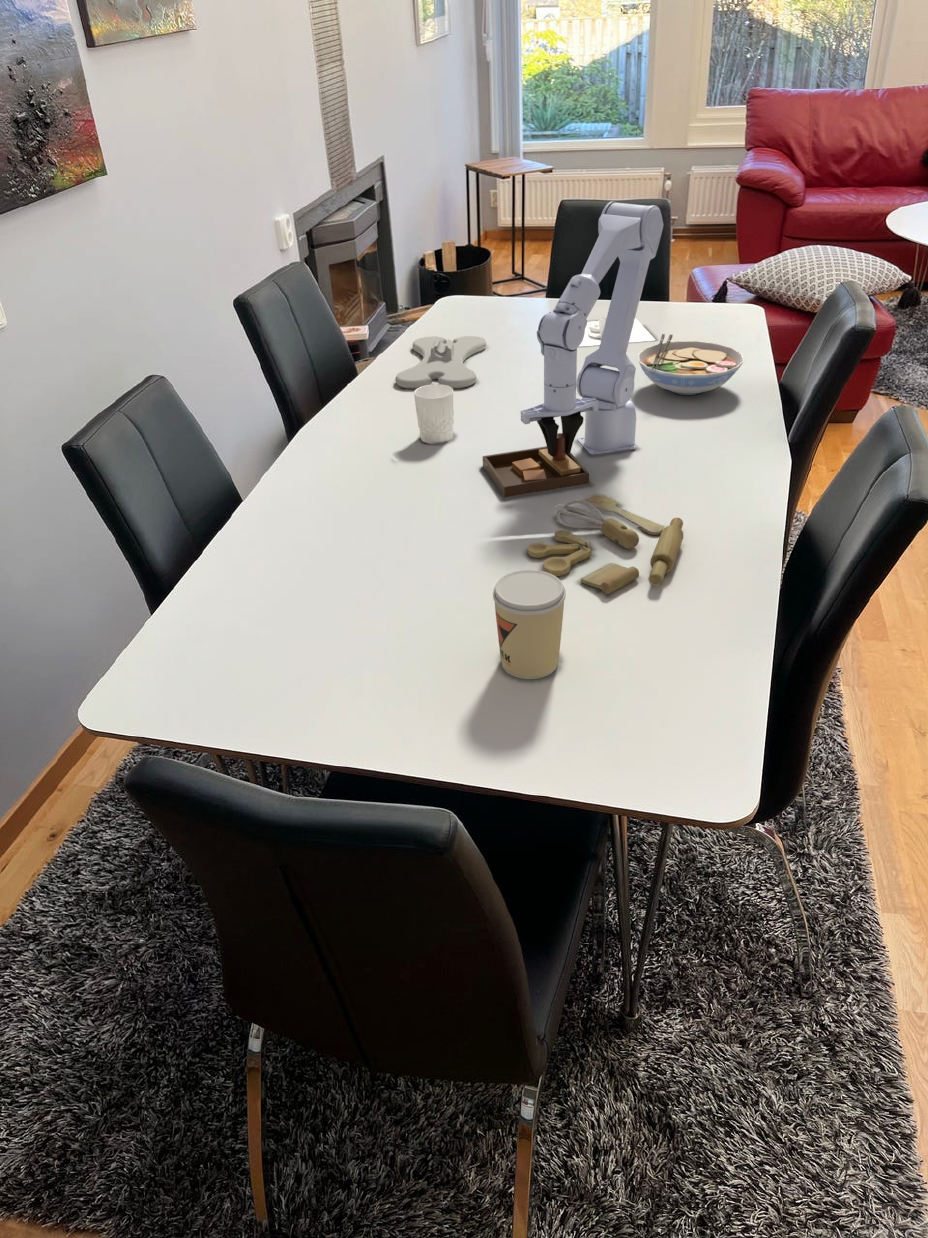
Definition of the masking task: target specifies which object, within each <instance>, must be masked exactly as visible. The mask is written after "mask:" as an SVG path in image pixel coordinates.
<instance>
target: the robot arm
mask: <svg viewBox="0 0 928 1238" xmlns="http://www.w3.org/2000/svg"><path fill="white" fill-rule="evenodd" d="M597 222H598V223H597V226H598V227H597V231H598V237H597V239H596V242H595V243H594V246H593V247H592V250H591V252H590V254H589V256H588V259H587V260H586V263H585V265H584V267H583V269H582V272H581V273H580V274H576V275H573V276H572V277H571V278H570V280H569V281H568V283H567V285H566V287H565V289H564V290H563V292H562V294H561V295H560V297H559V300H558V301H557V303H556V304H555V306H554V308H553V310H551V311H549V312H547V313H545V314H544V315H543V316H542V317H541V318H540V320H539V323H538V327H537V331H536V338H537V341H538V343H539V345H540V353H541V355H542V356H543V403H541V404H537V405H535V406H533V407H529V408H527V409H523V410H520V421H521V423H522V424H524V425H530V424H531V422H536V423H537V425H538V426H539V428H540V430H541V432H542V435H543V438H544V441H545V444H546V446H547V449H548V453H549V454H550V455H551V456H552V457H554V456H556V440H557V433H559V428H560V425H559V424H558V423H556V419H555V418H560V421H561V423H560V424H561V433H563V434H565V435H566V453H567V454H570V452H571V453H572V447H573V445H574V441H575V438H576V436H577V435H578V432H579V430H580V428H581V426H582V425H583V424H584V437H580V438H577V440H576V441H577V442H578V443H579V444H580V445H581V446H582V447H583V448H584V449H585V451H587V452H588V453H589V454H590V455H598V454H599V455H600V454H605V453H606V454H607V453H612V452H617V451H625V450H636V449H637V446H636V430H637V429H636V428H637V410H636V406H635V403H634V401H632V400H631V398H632V396H633V394H634V391H635V378H636V377H635V375H636V370H637V368H636V366H635V365H634V363H633V361H632V360H631V359H630V358H629V356H628V355H627V351H628V347H629V343H630V342H629V340H630V336H631V332H632V328H633V324H634V320H635V318H636V316H637V312H638V308H639V305H640V300H641V297H642V294H643V293H642V292H643V289H644V285H645V282H646V278H647V274H648V269H649V265H650V262H651V260H653V259H654V258H655V257H656V256H657V252H658V249H659V245H660V241H661V238H662V233H663V229H664V219H663V214H662V212H661V209H660V207H659V206H658V205H653V204H652V205H645V204H644V205H643V204H634V203H623V202H617V201H614V200H613V201H608V203H606V205H605V206H604V208H603V210H602V212H601V214H600V216H599V218H598V221H597ZM617 258H618V260H619V265H618V266H619V267H618V271H617V275H616V279H615V283H614V287H613V291H612V295H611V299H610V303H609V306H608V307H609V308H608V310H607V315H606V318H607V319H606V323H605V327H604V331H603V335H602V339H601V343H600V345H599V347H598V349H595V350H594V351H593V352H591V353H589V354H588V355H586V356H585V358H584V362H583V364H582V367H581V369H580V371H579V373H578V375H577V370H578V369H577V366H578V348H579V345H580V344H581V343H582V341H583V338H584V334H585V328H586V326H587V322H588V320H587V318H588V317H589V315H590V314H591V312H592V310H593V309H594V306H595V305H596V303H597V301H598V299H599V297H600V295H601V288H600V283H601V282H602V280H603V279H604V278H605V276H606V274H607V273H608V271H609V270H610V268H611V267H612V266H613V264H614V263H615V261H616V259H617ZM604 366H606V367H611V368H614V369H615V368H616V369H617V370H614V369H611V368H606V367H604ZM577 394H578V395H579V397H581V398H577ZM582 413H584V416H585V417H584V416H583V415H582Z"/></svg>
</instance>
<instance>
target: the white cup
mask: <svg viewBox="0 0 928 1238" xmlns="http://www.w3.org/2000/svg"><path fill="white" fill-rule="evenodd" d="M413 396H414V405H415V412H416V419H417V425H418V429H419V437H420V440H421V442H423V443H426V444H430V445H434V444H440V443H444V442H449V441H452V440H453V438H454V420H455V419H454V413H455V409H454V407H455V406H454V388H451V387H450V386H447V385H441V384H439V383H438V384H437V383H436V384H435V383H434V384H433V383H431V384H430V385H426V386H422V387H419V388H415V389H414V391H413Z"/></svg>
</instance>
